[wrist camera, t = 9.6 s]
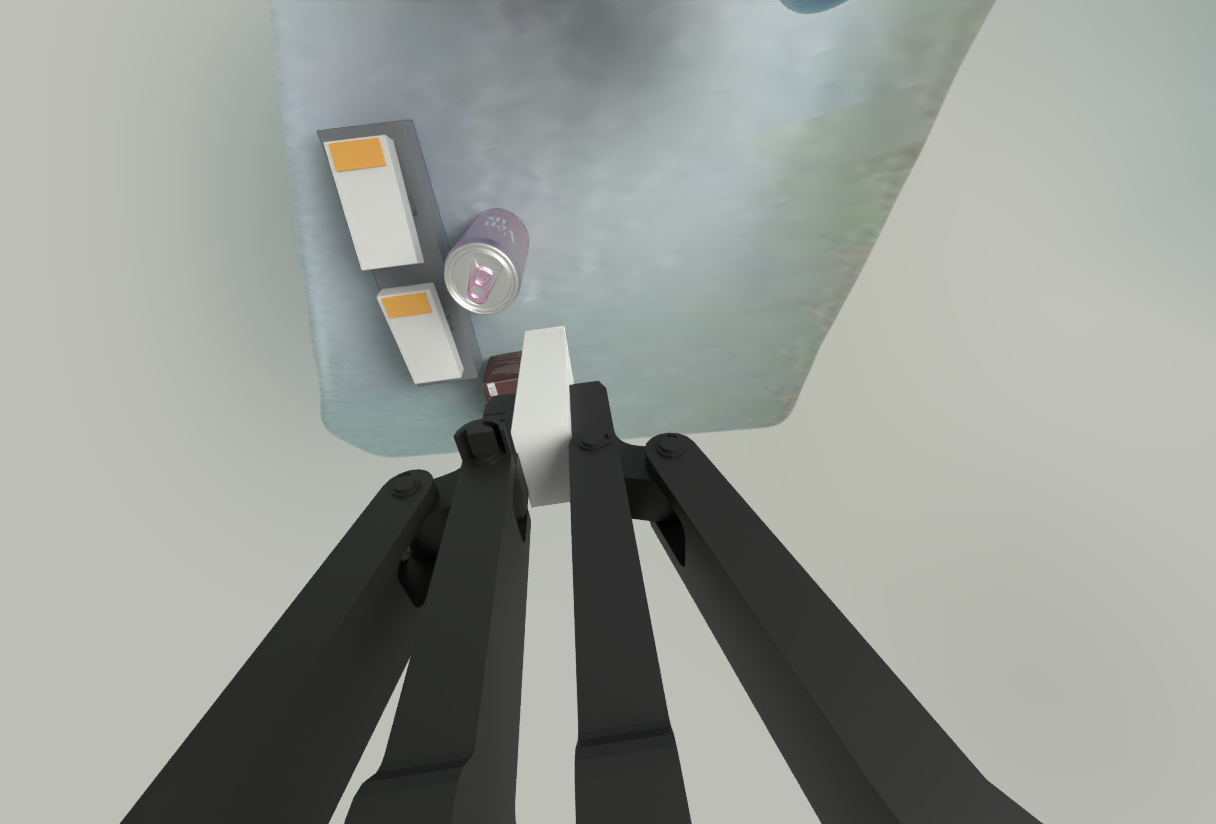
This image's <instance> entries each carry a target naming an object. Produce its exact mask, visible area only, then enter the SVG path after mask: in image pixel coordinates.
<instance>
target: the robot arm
mask: <svg viewBox="0 0 1216 824" xmlns="http://www.w3.org/2000/svg"><path fill="white" fill-rule="evenodd" d="M779 1H780V2H781V3H782V4H783V5H784V6H785V7H787V8H788V9H790V10H792V11H795V12H797V13H802V14H812V13H819V12H823V11H826V10H829V9H831V8H834V7H836V6H838V5H840V4H842V3H844V2H846V1H847V0H779ZM483 416H484V417H483V418H482V419H479V420H475V421H472V422H470V423H468V424H465V425H464V426H462V427H461V428H460V429H459V430H457V432H456V433H455V435H454V439H455V442H456V445H457V447H458V450H459V453H460V455H461V458H462V465H461V468H460V469H458V470H456V471H454V472H451V473H449V474H446V475H444V476H441V477H438V478H435V479H433V477H432V475H431V474H430V473H429V472H428V471H425V470H420V469H418V470H410V471H406V472H403V473H401V474H398V475H397V476H395V477H393V478H392V479H390V480H389V481H388V482H387V483H386V484H385V485H384V486H383V487H382V488H381V490H380V491H379V492H378V493H377V495H376V496H375V497H374V498H373V500H372V501H371V502H370V504H369V505H368V506H367V508H366V509H365V510H364V511H363V513H362V514H361V515H360V516H359V518H358V519H357V520H356V522H355V523H354V524H353V525H352V527H351V528H350V529H349V530H348V532H347V533H346V534H345V536H344V537H343V538H342V539H341V541H340V542H339V543H338V545H337V546H336V547H335V548H334V550H333V551H332V552H331V554H330V555H329V556H328V557H327V559H326V560H325V561H324V562H323V564H322V565H321V566H320V568H319V569H318V570H317V572H316V573H315V574H314V575H313V577H312V578H311V579H310V580H309V582H308V583H307V584H306V586H305V587H304V588H303V590H302V591H301V592H300V593H299V595H298V596H297V597H296V598H295V600H294V601H293V602H292V603H291V605H290V606H289V607H288V609H287V610H286V611H285V613H284V614H283V615H282V617H281V618H280V619H279V620H278V622H277V623H276V624H275V625H274V627H273V628H272V629H271V631H270V632H269V633H268V634H267V636H266V637H265V638H264V639H263V641H262V642H261V643H260V645H259V646H258V647H257V648H256V650H255V651H254V652H253V654H252V655H251V656H250V658H249V659H248V660H247V661H246V663H245V664H244V665H243V667H242V668H241V669H240V670H239V672H238V673H237V674H236V675H235V677H234V678H233V679H232V681H231V682H230V683H229V685H228V686H227V687H226V688H225V689H224V691H223V692H222V693H221V695H220V696H219V697H218V698H217V700H216V701H215V702H214V704H213V705H212V706H211V707H210V709H209V710H208V711H207V713H206V714H205V715H204V716H203V718H202V719H201V720H200V721H199V723H198V724H197V725H196V727H195V728H194V729H193V730H192V732H191V733H190V734H189V736H188V737H187V738H186V739H185V741H184V742H183V743H182V745H181V746H180V747H179V749H178V750H177V751H176V752H175V754H174V755H173V756H172V757H171V759H170V760H169V761H168V763H167V764H166V765H165V766H164V768H163V769H162V770H161V772H160V773H159V774H158V775H157V777H156V778H155V779H154V781H153V782H152V783H151V784H150V786H149V787H148V788H147V789H146V791H145V792H144V794H143V795H142V796H141V797H140V799H139V800H138V801H137V802H136V804H135V805H134V806H133V808H132V809H131V810H130V811H129V813H128V814H127V815H126V816H125V818H124V819H123V820H122V822H121V823H120V824H328V823H329V821H330V819H331V817H332V815H333V813H334V811H335V809H336V807H337V805H338V803H339V801H340V799H341V797H342V795H343V793H344V791H345V789H346V787H347V785H348V782H349V781H350V778H351V777H352V774H353V772H354V770H355V768H356V766H357V764H358V762H359V760H360V758H361V756H362V754H363V752H364V750H365V748H366V746H367V744H368V742H369V740H370V738H371V736H372V733H373V732H374V730H375V728H376V726H377V723H378V721H379V719H380V717H381V715H382V713H383V711H384V709H385V707H386V705H387V703H388V701H389V699H390V697H391V695H392V693H393V691H394V689H395V687H396V685H397V683H398V681H399V678H400V677H401V674H402V672H403V671H404V668H405V666H406V664H407V662H408V660H409V658H410V661H409V665H408V668H407V672H406V676H405V680H404V684H403V687H402V691H401V695H400V699H399V702H398V707H397V710H396V714H395V717H394V721H393V725H392V729H391V732H390V736H389V740H388V744H387V748H386V752H385V755H384V758H383V761H382V763H381V766H380V767H379V769H378V771H377V772H376V773H375V774H374V775H373V776H371V777H370V778H369V779H367V780H366V781H365V782H364V783H363V784H362V785H361V787H360V788H359V790H358V792H357V793H356V795H355V796H354V798H353V801H352V803H351V806H350V809H349V811H348V814H347V816H346V819H345V823H344V824H516V820H515V794H516V777H517V758H518V741H519V739H518V738H519V724H520V723H519V722H520V705H521V688H522V670H523V653H524V635H525V618H526V617H525V616H526V599H527V582H528V565H529V564H528V563H529V546H530V529H531V519H530V515H529V511H528V496H529V500H530V504H531V507H536V506H544V505H550V504H558V503H565V502H570V504H571V505H570V506H571V534H572V563H573V590H574V619H575V648H576V676H577V702H578V703H577V704H578V742H577V745H576V749H575V805H576V824H692V823H691V818H690V813H689V808H688V802H687V797H686V792H685V787H684V781H683V776H682V771H681V766H680V761H679V756H678V751H677V746H676V742H675V737H674V733H673V730H672V728H671V724H670V720H669V716H668V710H667V705H666V700H665V694H664V690H663V684H662V678H661V673H660V667H659V662H658V657H657V652H656V646H655V641H654V636H653V630H652V625H651V619H650V614H649V609H648V604H647V598H646V593H645V587H644V582H643V576H642V571H641V566H640V560H639V555H638V550H637V545H636V539H635V534H634V528H633V523H632V519H640V520H648V521H650V523H651V526H652V528H653V529H654V531H655V533H656V535H657V537H658V539H659V540H660V542H661V544H662V546H663V547H664V549H665V551H666V553H667V554H668V556H669V558H670V560H671V561H672V563H673V565H674V567H675V568H676V570H677V572H678V574H679V575H680V577H681V579H682V581H683V582H684V584H685V586H686V587H687V589H688V591H689V593H690V594H691V596H692V598H693V600H694V602H695V603H696V605H697V607H698V608H699V610H700V612H701V614H702V615H703V617H704V619H705V621H706V623H707V624H708V626H709V628H710V629H711V631H712V633H713V635H714V636H715V638H716V640H717V642H718V644H719V645H720V647H721V649H722V650H723V652H724V654H725V656H726V657H727V659H728V661H729V662H730V664H731V666H732V668H733V670H734V671H735V673H736V675H737V677H738V678H739V680H740V682H741V684H742V685H743V687H744V689H745V691H746V692H747V694H748V696H749V698H750V699H751V701H752V703H753V705H754V706H755V708H756V710H757V712H758V713H759V715H760V717H761V719H762V720H763V722H764V724H765V725H766V727H767V729H768V731H769V733H770V734H771V736H772V738H773V740H774V741H775V743H776V745H777V747H778V748H779V750H780V752H781V753H782V755H783V757H784V759H785V760H786V762H787V764H788V766H789V767H790V769H791V771H792V773H793V775H794V776H795V778H796V780H797V781H798V783H799V785H800V787H801V789H802V790H803V792H804V794H805V795H806V797H807V799H808V801H809V802H810V804H811V806H812V808H813V809H814V811H815V813H816V815H817V816H818V818H819V820H820V822H821V823H822V824H1043V823H1041V822H1040V821H1039V820H1037V819H1036V818H1035V817H1034V816H1032V815H1031V814H1030V813H1029V812H1027V811H1026V810H1025V809H1023V808H1022V807H1021V806H1020V805H1018V804H1017V803H1016V802H1014V801H1013V800H1012V799H1011V798H1009V797H1008V796H1007V795H1005V794H1004V793H1003V792H1002V791H1000V790H999V789H998V788H997V787H995V786H994V785H993V784H991V783H990V782H989V781H988V780H986V779H985V777H984V776H983V775H982V774H981V773H980V772H979V771H978V769H977V768H976V767H975V766H974V765H973V764H972V762H971V761H970V760H969V759H968V758H967V757H966V755H965V754H964V753H963V752H962V751H961V750H960V748H959V747H958V746H957V745H956V744H955V743H954V742H953V740H952V739H951V738H950V737H949V736H948V735H947V734H946V732H945V731H944V730H943V729H942V728H941V727H940V726H939V724H938V723H937V722H936V721H935V720H934V719H933V717H932V716H931V715H930V714H929V713H928V712H927V710H926V709H925V708H924V707H923V706H922V705H921V703H920V702H919V701H918V700H917V699H916V698H915V697H914V696H913V694H912V693H911V692H910V691H909V690H908V689H907V687H906V686H905V685H904V684H903V683H902V682H901V681H900V679H899V678H898V677H897V676H896V675H895V674H894V672H893V671H892V670H891V669H890V668H889V667H888V665H887V664H886V663H885V662H884V661H883V660H882V658H881V657H880V656H879V655H878V654H877V653H876V652H875V650H874V649H873V648H872V647H871V646H870V645H869V644H868V643H867V641H866V640H865V639H864V638H863V637H862V635H861V634H860V633H859V632H858V631H857V630H856V628H855V627H854V626H853V625H852V624H851V623H850V622H849V620H847V618H846V617H845V616H844V615H843V614H842V612H841V611H840V610H839V609H838V608H837V607H836V605H835V604H834V603H833V602H832V601H831V600H830V598H828V596H827V595H826V594H825V593H824V592H823V590H822V589H821V588H820V587H819V586H818V585H817V583H816V582H815V581H814V580H813V579H812V578H811V577H810V576H809V574H808V573H807V572H806V571H805V570H804V568H803V567H802V566H801V565H800V564H799V563H798V562H797V560H795V558H794V557H793V556H792V555H791V554H790V552H789V551H788V550H787V549H786V548H785V547H784V545H783V544H782V543H781V542H780V541H779V540H778V538H777V537H776V536H775V535H774V534H773V533H772V531H771V530H770V529H769V528H768V527H767V526H766V525H765V523H764V522H763V521H762V520H761V519H760V518H759V517H758V515H757V514H756V513H755V512H754V511H753V510H752V508H751V507H750V506H749V505H748V504H747V503H746V501H745V500H744V499H743V498H742V497H741V496H740V495H739V493H738V492H737V491H736V490H735V489H734V488H733V486H732V485H731V484H730V483H729V482H728V481H727V480H726V478H725V477H724V476H723V475H722V474H721V473H720V472H719V470H718V469H717V468H716V467H715V466H714V465H713V463H712V462H711V461H710V460H709V459H708V458H707V457H706V455H705V454H704V453H703V452H702V451H701V450H700V448H699V447H698V446H697V445H696V444H695V443H694V441H692V440H691V439H689V438H688V437H687V436H684V435H681V434H678V433H665V434H659V435H657V436H655V437H653V438H651V439H650V440H649V441H648V442H647V443H646V446H636V445H630V444H627V443H625V442H623V441H621V440H620V439H619V438H618V437H617V436H616V435H615V432H614V428H613V422H612V417H611V412H610V406H609V401H608V396H607V390H606V387H605V386H604V385H602V384H601V383H600V382H599V381H593V382H586V383H579V384H574V382H573V376H572V370H571V364H570V358H569V351H568V345H567V339H566V333H565V327H564V326H559V327H551V328H543V329H536V330H528V331H525V336H524V343H523V350H522V357H521V364H520V371H519V378H518V386H517V393H513V394H506V395H499V396H494V397H493V398H492V399H491V400H490V401H489V402H488V403H487V404H486V406H485V410H484V414H483ZM410 656H411V657H410Z"/></svg>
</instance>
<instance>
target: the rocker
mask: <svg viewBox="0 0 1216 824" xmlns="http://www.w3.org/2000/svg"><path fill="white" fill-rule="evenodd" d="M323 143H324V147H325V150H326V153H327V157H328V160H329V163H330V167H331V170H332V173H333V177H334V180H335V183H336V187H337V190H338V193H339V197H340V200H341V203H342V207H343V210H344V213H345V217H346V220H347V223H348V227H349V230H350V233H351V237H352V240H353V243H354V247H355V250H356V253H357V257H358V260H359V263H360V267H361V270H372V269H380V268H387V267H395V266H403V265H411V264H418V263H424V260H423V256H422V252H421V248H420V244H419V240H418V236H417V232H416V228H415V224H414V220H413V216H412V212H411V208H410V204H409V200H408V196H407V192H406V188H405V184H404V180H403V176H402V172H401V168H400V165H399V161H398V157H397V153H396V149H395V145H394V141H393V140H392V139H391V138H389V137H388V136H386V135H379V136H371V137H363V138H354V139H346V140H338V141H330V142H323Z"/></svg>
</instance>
